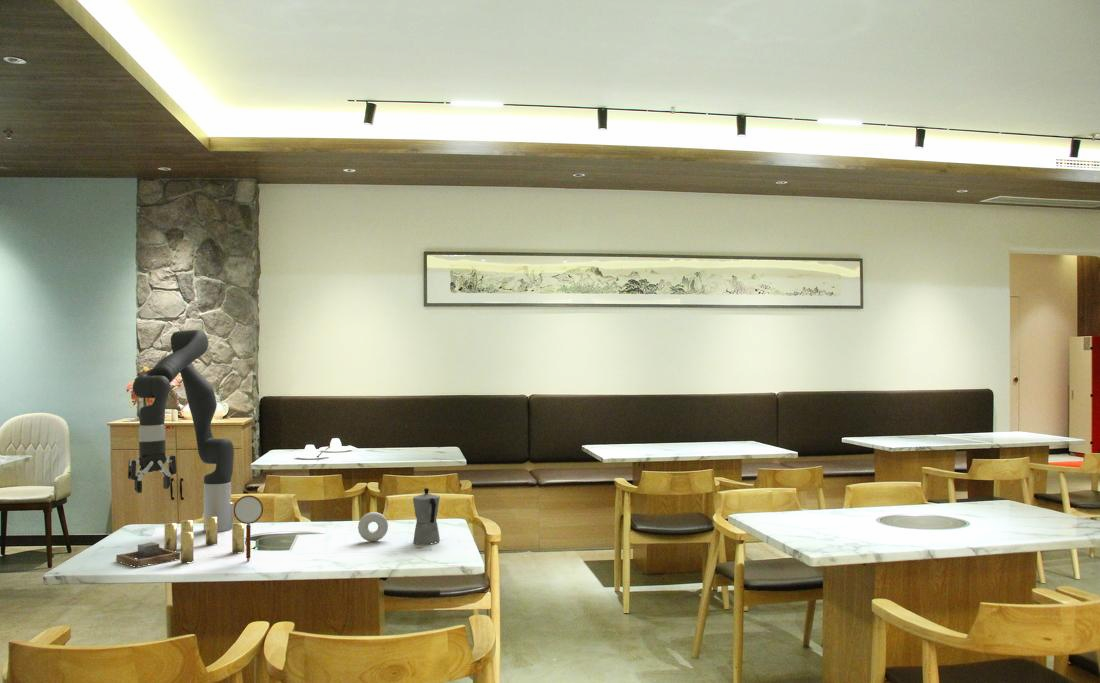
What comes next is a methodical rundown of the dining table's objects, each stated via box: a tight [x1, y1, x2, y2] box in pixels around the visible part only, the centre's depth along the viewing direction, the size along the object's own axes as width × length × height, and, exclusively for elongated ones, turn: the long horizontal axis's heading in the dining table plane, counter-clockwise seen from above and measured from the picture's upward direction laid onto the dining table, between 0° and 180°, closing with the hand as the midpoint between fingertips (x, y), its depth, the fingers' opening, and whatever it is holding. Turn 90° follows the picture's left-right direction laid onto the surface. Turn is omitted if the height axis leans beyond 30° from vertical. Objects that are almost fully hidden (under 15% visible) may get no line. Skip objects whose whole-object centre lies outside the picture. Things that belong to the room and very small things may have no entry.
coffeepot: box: [412, 487, 441, 545], centre depth 274 cm, size 15×9×18 cm, turn 26°
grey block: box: [137, 541, 160, 560], centre depth 251 cm, size 4×4×5 cm
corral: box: [115, 546, 181, 568], centre depth 251 cm, size 13×13×2 cm
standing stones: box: [163, 516, 245, 564], centre depth 261 cm, size 22×23×9 cm
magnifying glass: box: [233, 494, 264, 562], centre depth 249 cm, size 9×2×20 cm, turn 99°
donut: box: [357, 511, 389, 542], centre depth 276 cm, size 10×4×10 cm, turn 103°
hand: (152, 490), depth 256 cm, fingers open, 8 cm apart
